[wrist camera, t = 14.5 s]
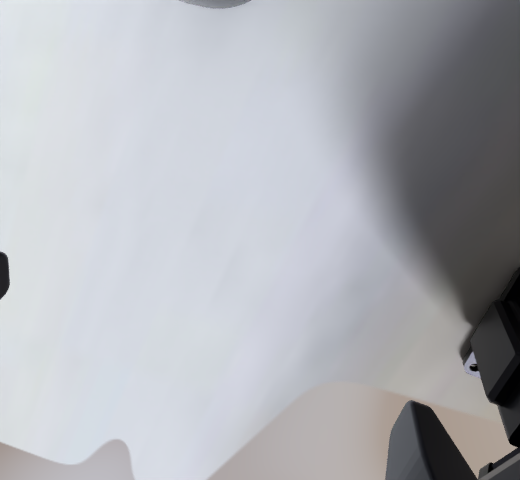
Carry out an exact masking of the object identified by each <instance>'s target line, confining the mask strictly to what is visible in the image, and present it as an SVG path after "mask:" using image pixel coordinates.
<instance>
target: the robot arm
mask: <svg viewBox="0 0 520 480" xmlns="http://www.w3.org/2000/svg"><path fill="white" fill-rule="evenodd" d="M9 285H10V279H9V263H8V257H7V255H6V254H5V253H3V252H0V299H1V298H2V297H3V296H4V295H5V294H6V292H7V291H8V288H9ZM470 343H471V348H470V349H469V351H468V353H467V354H466V356H465V358H464V359H463V365H464V369H465V371H466V372H467V373H468V374H470V375H473V376H475V377H478V378H481V380H482V383H483V387H484V390H485V394H486V396H487V398H488V400H489V402H490V403H493V404H496V405H497V406H498V409H499V412H500V416H501V419H502V422H503V425H504V428H505V431H506V434H507V438H508V440H509V443H510V444H512V445H513V446H516V447H518V448H517V449H515V450H514V451H512V452H511V453H509V454H508V455H506V456H505V457H503V458H502V459H500V460H499V461H497V462H496V463H494V464H493V463H489V464H487V465H486V466H484V467H483V468H481V469H480V471H479V477H478V479H477V478H476V476H475V475H474V473H473V472H472V470H471V469H470V467H469V465H468V464H467V462H466V461H465V459H464V458H463V456H462V455H461V453H460V452H459V450H458V448H457V447H456V445H455V444H454V442H453V441H452V439H451V438H450V436H449V435H448V433H447V432H446V430H445V428H444V427H443V425H442V424H441V422H440V421H439V419H438V418H437V416H436V414H435V413H434V411H433V410H432V409H431V408H430V407H429V406H427V405H424V404H421V403H418V402H415V401H412V400H411V401H408V402H407V403H406V404H405V406H404V408H403V410H402V411H401V413H400V415H399V417H398V419H397V420H396V422H395V424H394V426H393V428H392V431H391V434H390V441H389V450H388V459H387V470H386V478H385V480H520V268H519V269H518V270H517V271H516V273H515V274H514V276H513V278H512V279H511V281H510V283H509V284H508V286H507V288H506V289H505V291H504V293H503V294H502V296H501V298H500V299H499V300H496V301H494V302H492V304H491V306H490V307H489V309H488V311H487V312H486V314H485V316H484V317H483V319H482V321H481V322H480V324H479V326H478V328H477V329H476V331H475V333H474V334H473V336H472V338H471V340H470ZM471 364H477V366H470V365H471Z"/></svg>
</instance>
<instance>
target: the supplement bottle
mask: <svg viewBox="0 0 520 480" xmlns="http://www.w3.org/2000/svg"><path fill="white" fill-rule="evenodd" d="M179 1H182V2H186V3H189V4H193V5H197V6H202V7H206V8H222V9H223V8H231V7H236V6H239V5H242V4H245V3H247V2H249V1H251V0H179Z"/></svg>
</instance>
